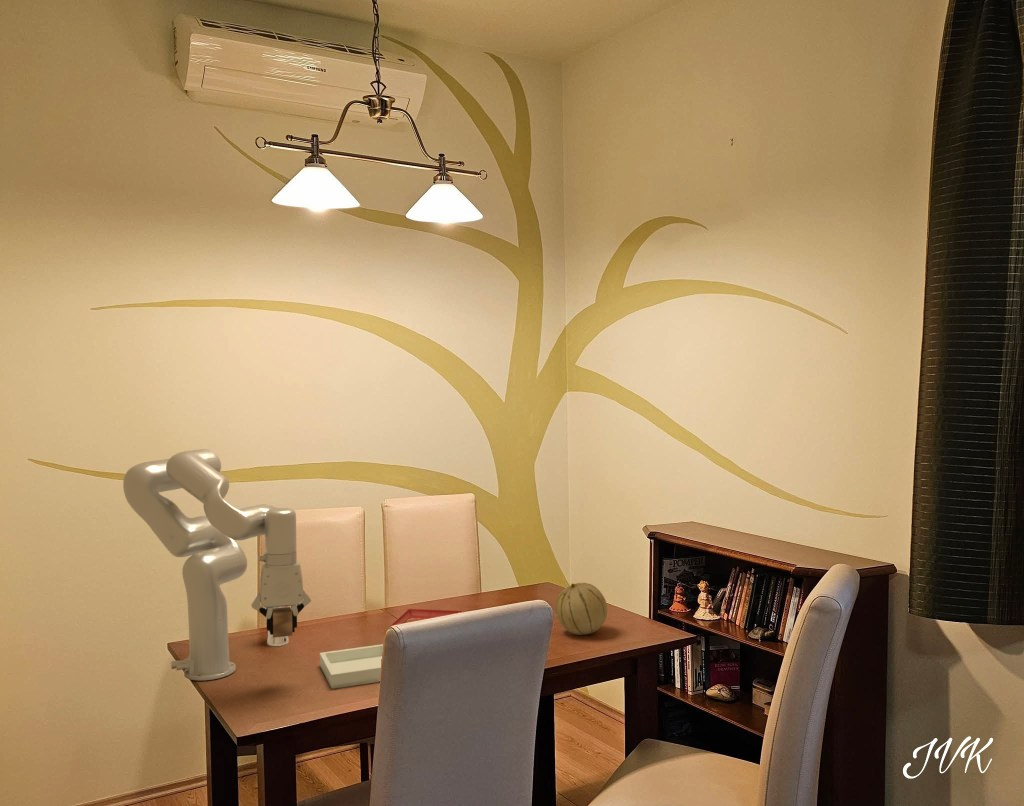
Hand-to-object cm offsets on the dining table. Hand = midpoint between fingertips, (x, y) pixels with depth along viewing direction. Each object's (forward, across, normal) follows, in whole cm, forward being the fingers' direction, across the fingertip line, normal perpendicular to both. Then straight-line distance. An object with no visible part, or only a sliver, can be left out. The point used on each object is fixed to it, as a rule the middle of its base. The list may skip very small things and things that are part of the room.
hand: (281, 631), depth 217 cm
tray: (+13, +20, 0) cm, 23 cm away
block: (+1, 0, 0) cm, 1 cm away
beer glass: (+14, +3, +34) cm, 37 cm away
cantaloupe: (+12, +85, +5) cm, 86 cm away
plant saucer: (+14, +46, +30) cm, 56 cm away
